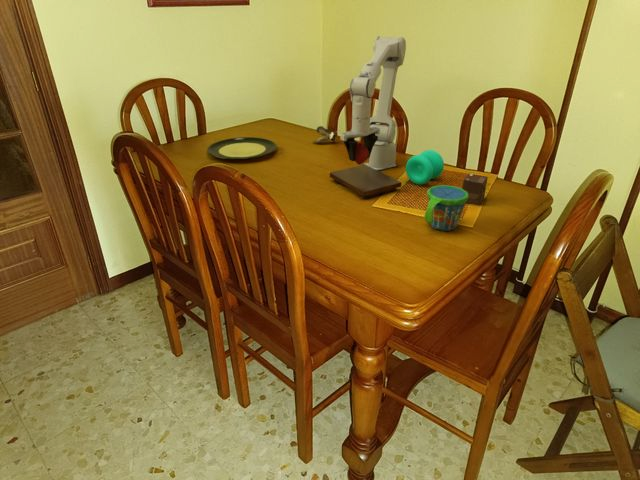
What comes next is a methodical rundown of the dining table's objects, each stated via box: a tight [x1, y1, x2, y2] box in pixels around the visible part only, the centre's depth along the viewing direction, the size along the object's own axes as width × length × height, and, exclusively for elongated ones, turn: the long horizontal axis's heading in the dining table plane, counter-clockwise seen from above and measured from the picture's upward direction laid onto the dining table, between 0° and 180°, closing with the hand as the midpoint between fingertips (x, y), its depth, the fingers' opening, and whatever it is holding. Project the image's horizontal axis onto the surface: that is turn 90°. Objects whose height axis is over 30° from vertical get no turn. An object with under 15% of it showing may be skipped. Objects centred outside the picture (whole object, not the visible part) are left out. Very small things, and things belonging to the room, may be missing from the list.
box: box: [461, 173, 489, 206], centre depth 138 cm, size 6×6×7 cm
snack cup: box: [423, 184, 469, 232], centre depth 123 cm, size 16×10×10 cm
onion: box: [354, 140, 369, 166], centre depth 147 cm, size 6×6×8 cm
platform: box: [329, 164, 402, 199], centre depth 151 cm, size 15×20×3 cm
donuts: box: [405, 149, 445, 185], centre depth 152 cm, size 10×10×10 cm
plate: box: [206, 136, 278, 161], centre depth 182 cm, size 28×28×2 cm
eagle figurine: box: [313, 125, 338, 144], centre depth 192 cm, size 8×7×9 cm
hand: (359, 158), depth 148 cm, fingers closed on onion, 6 cm apart
